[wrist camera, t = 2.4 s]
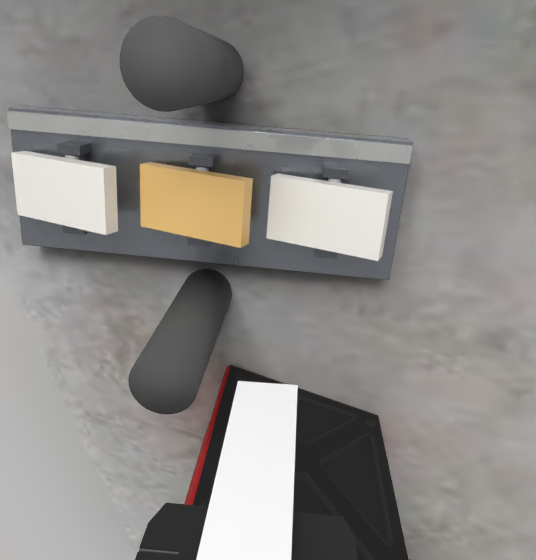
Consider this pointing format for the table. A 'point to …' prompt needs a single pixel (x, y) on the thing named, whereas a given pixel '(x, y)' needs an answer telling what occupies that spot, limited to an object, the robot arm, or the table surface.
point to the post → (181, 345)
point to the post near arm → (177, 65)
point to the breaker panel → (220, 159)
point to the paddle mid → (196, 203)
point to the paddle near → (328, 215)
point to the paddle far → (66, 191)
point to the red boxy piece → (321, 466)
